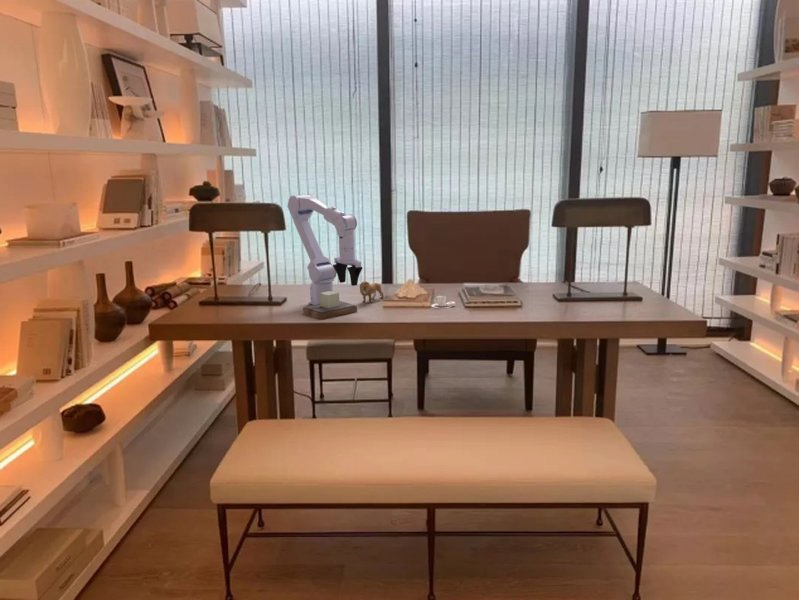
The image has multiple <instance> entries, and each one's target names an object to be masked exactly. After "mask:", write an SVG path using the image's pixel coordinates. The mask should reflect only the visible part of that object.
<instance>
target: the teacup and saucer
mask: <svg viewBox="0 0 799 600" xmlns="http://www.w3.org/2000/svg"><path fill="white" fill-rule="evenodd" d="M433 299H434V303H433V304H431V305H430V306H431V307H432V308H433V309H439V308H444V309H450V308H452V307H453V306H455V305H456V302H455V301H448V302H446V295H437V296H436V297H435V298H433ZM436 299H437V301H436ZM436 305H437V306H438V307H436ZM445 306H446V307H445Z"/></svg>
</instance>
